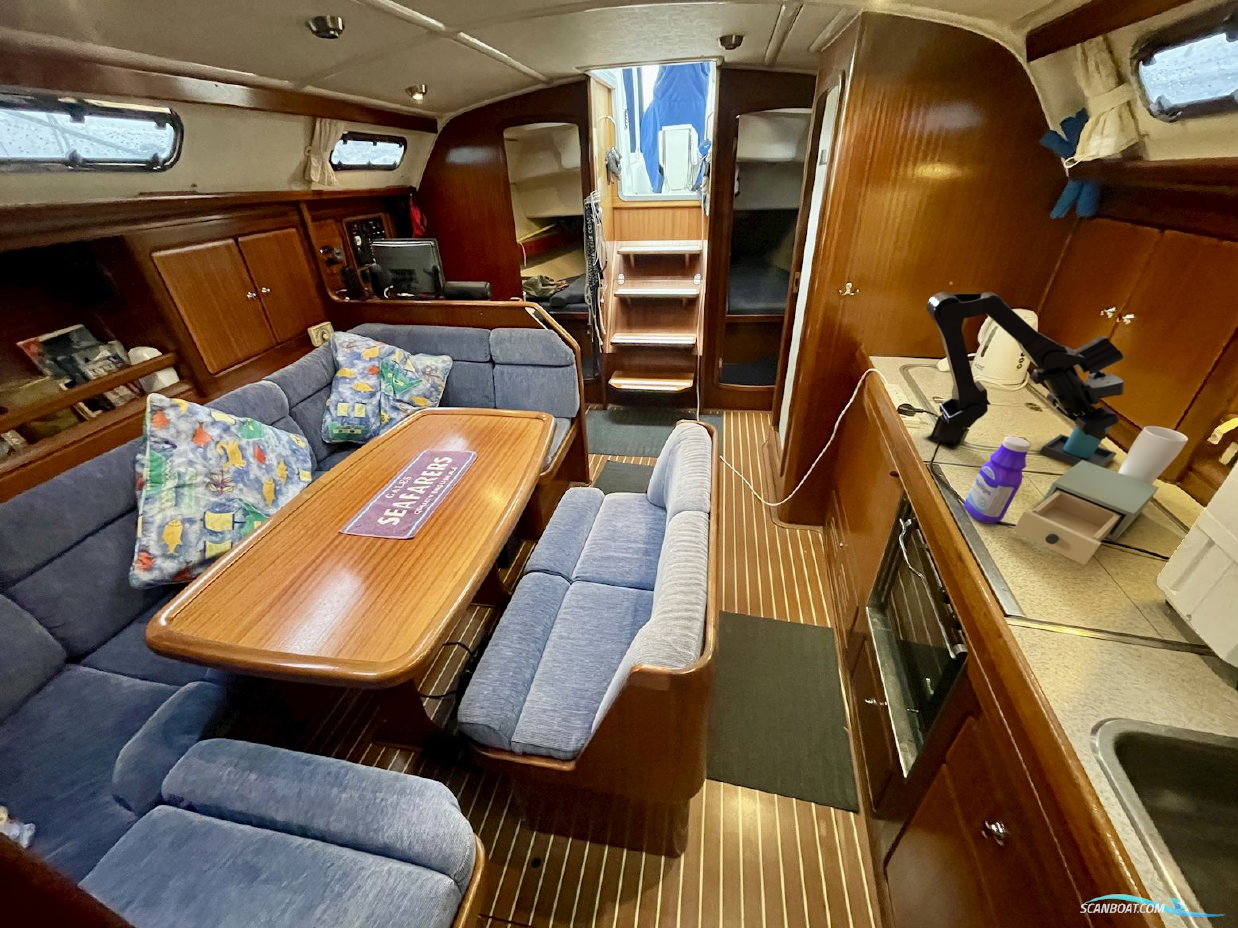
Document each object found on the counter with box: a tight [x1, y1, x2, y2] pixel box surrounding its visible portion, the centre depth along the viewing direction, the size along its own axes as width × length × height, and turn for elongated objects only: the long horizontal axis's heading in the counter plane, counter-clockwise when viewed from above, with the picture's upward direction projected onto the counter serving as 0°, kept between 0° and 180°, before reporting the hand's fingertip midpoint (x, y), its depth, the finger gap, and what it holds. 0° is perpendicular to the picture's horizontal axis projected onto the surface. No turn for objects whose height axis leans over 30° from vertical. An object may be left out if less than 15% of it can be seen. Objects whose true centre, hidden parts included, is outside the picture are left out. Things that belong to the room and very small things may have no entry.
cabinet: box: [1041, 460, 1160, 541], centre depth 99 cm, size 16×13×7 cm
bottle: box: [964, 435, 1032, 524], centre depth 95 cm, size 7×6×17 cm
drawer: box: [1012, 490, 1121, 566], centre depth 92 cm, size 16×11×5 cm
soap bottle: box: [1063, 426, 1112, 458], centre depth 116 cm, size 6×6×11 cm
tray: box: [1038, 433, 1118, 468], centre depth 119 cm, size 11×11×2 cm
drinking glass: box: [1117, 425, 1189, 485], centre depth 103 cm, size 7×7×15 cm
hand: (1095, 433), depth 116 cm, fingers closed on soap bottle, 5 cm apart
